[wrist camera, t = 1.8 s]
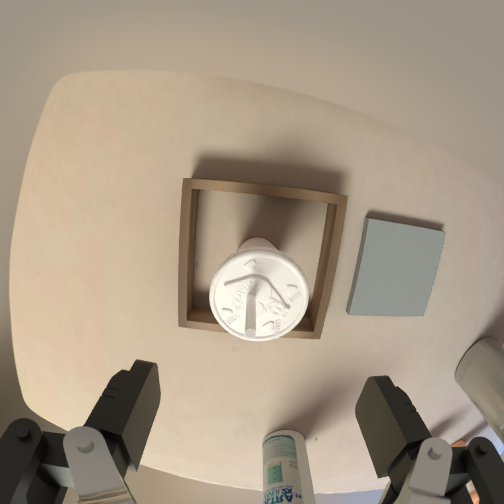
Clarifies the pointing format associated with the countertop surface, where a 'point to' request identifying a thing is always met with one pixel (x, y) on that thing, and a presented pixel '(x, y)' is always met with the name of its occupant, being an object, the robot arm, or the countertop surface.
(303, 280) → the smoothie
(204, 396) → the countertop surface
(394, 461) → the robot arm
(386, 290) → the mat
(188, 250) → the frame
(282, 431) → the spray can
